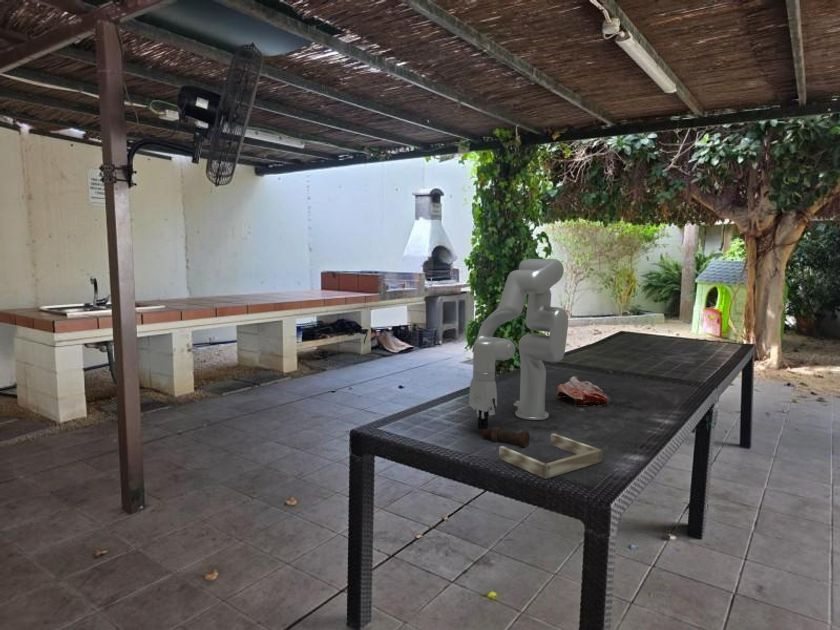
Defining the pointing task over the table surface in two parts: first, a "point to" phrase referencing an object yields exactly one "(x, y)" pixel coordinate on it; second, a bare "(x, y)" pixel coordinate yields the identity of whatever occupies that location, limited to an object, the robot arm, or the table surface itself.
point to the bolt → (507, 436)
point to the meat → (582, 392)
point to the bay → (582, 459)
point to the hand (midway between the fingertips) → (482, 428)
